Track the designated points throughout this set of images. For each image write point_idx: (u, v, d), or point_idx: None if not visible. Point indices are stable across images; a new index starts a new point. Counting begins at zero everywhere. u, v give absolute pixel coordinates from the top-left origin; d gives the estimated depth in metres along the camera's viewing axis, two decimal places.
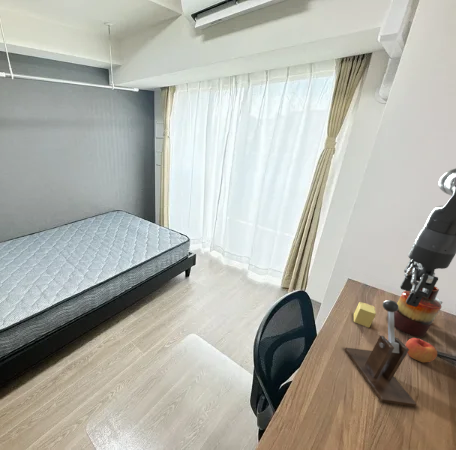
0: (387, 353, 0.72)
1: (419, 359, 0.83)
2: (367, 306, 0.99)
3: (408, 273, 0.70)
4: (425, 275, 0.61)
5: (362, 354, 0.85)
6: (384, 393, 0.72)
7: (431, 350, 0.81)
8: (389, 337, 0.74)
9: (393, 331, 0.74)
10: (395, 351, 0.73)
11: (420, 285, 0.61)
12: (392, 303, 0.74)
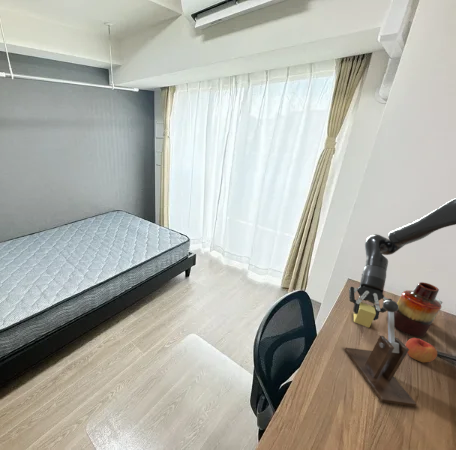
0: (387, 353, 0.72)
1: (419, 359, 0.83)
2: (367, 306, 0.99)
3: (373, 304, 1.00)
4: (349, 288, 1.05)
5: (362, 354, 0.85)
6: (384, 393, 0.72)
7: (431, 350, 0.81)
8: (389, 337, 0.74)
9: (393, 331, 0.74)
10: (395, 351, 0.73)
11: (349, 294, 1.04)
12: (392, 303, 0.74)
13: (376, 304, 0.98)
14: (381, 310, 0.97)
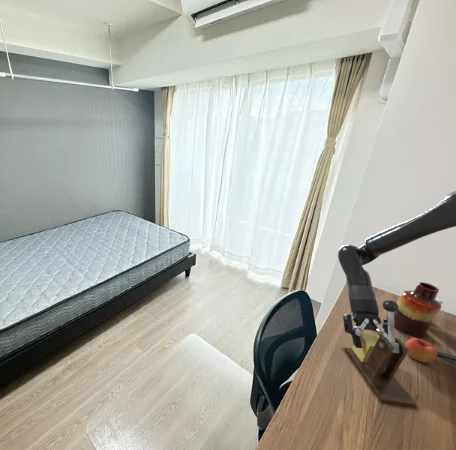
0: (387, 353, 0.72)
1: (419, 359, 0.83)
2: (371, 338, 0.82)
3: (375, 331, 0.84)
4: (344, 315, 0.86)
5: None
6: (384, 393, 0.72)
7: (431, 350, 0.81)
8: (389, 337, 0.74)
9: (393, 331, 0.74)
10: (395, 351, 0.73)
11: (344, 323, 0.85)
12: (392, 303, 0.74)
13: (382, 332, 0.81)
14: None
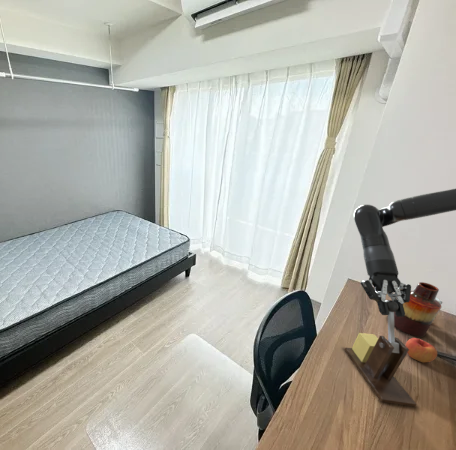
0: (387, 353, 0.72)
1: (419, 359, 0.83)
2: (371, 338, 0.82)
3: (389, 295, 0.78)
4: (361, 282, 0.80)
5: None
6: (384, 393, 0.72)
7: (431, 350, 0.81)
8: (389, 337, 0.74)
9: (393, 331, 0.74)
10: (395, 351, 0.73)
11: (365, 291, 0.79)
12: (392, 303, 0.74)
13: (398, 295, 0.75)
14: (403, 301, 0.75)
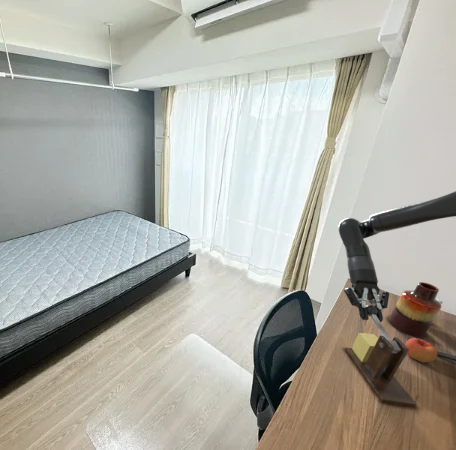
0: (387, 353, 0.72)
1: (419, 359, 0.83)
2: (371, 338, 0.82)
3: (370, 301, 0.85)
4: (344, 289, 0.87)
5: None
6: (384, 393, 0.72)
7: (431, 350, 0.81)
8: None
9: (384, 331, 0.77)
10: (396, 348, 0.72)
11: (348, 297, 0.86)
12: (369, 305, 0.83)
13: (377, 301, 0.83)
14: (382, 307, 0.83)
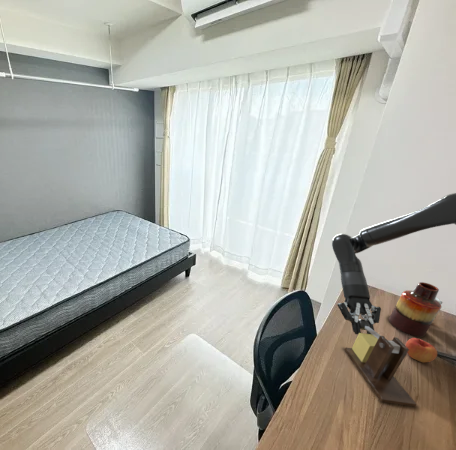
0: (387, 353, 0.72)
1: (419, 359, 0.83)
2: (371, 338, 0.82)
3: (362, 316, 0.88)
4: (337, 304, 0.90)
5: None
6: (384, 393, 0.72)
7: (431, 350, 0.81)
8: None
9: None
10: (395, 345, 0.73)
11: (341, 312, 0.89)
12: (360, 319, 0.86)
13: (369, 316, 0.85)
14: (374, 322, 0.85)
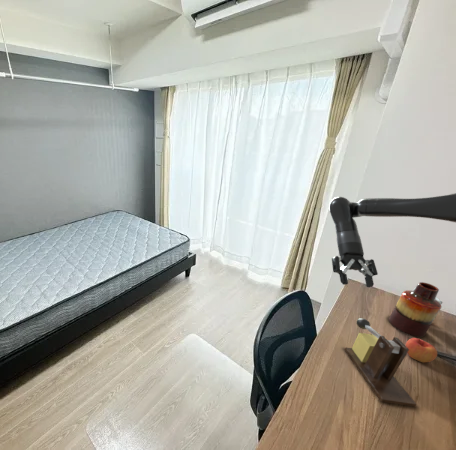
0: (387, 353, 0.72)
1: (419, 359, 0.83)
2: (371, 338, 0.82)
3: (360, 271, 0.93)
4: None
5: None
6: (384, 393, 0.72)
7: (431, 350, 0.81)
8: None
9: (380, 335, 0.78)
10: (395, 345, 0.73)
11: (332, 264, 0.94)
12: (360, 318, 0.86)
13: (366, 270, 0.90)
14: (373, 274, 0.90)
